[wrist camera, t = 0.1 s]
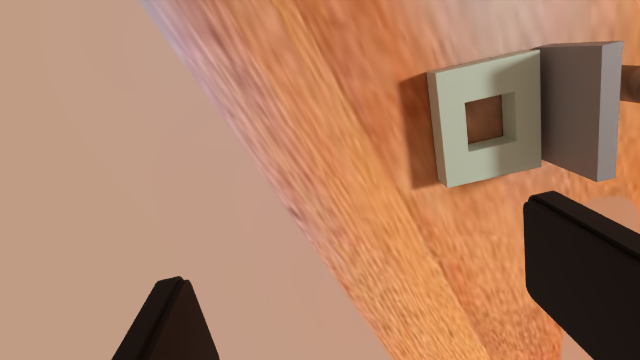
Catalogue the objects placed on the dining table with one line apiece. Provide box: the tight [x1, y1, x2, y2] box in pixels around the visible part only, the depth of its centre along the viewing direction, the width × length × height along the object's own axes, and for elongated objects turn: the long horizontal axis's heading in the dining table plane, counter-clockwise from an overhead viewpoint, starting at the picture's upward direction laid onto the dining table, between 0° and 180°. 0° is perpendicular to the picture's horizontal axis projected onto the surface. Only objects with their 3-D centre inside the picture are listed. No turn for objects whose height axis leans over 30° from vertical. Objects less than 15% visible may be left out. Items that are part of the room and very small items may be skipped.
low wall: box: [536, 41, 623, 182], centre depth 42 cm, size 14×2×10 cm, turn 12°
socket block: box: [426, 50, 541, 188], centre depth 46 cm, size 14×12×3 cm
